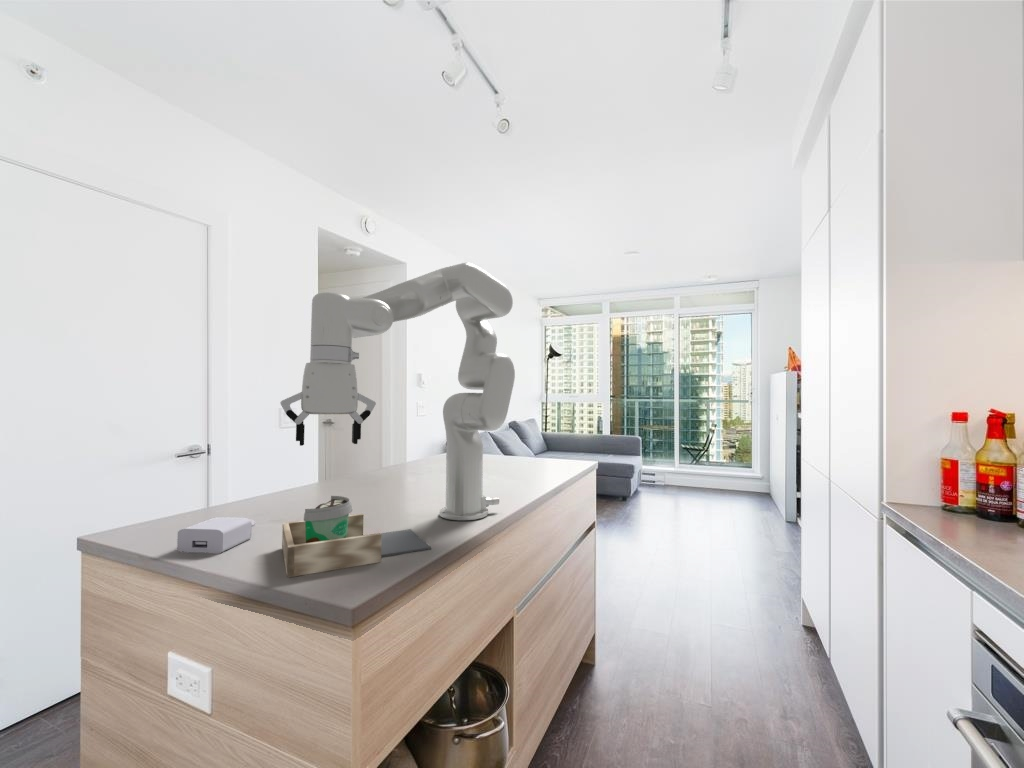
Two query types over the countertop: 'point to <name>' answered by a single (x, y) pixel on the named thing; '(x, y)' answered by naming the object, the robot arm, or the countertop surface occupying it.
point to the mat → (401, 542)
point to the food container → (328, 520)
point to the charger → (215, 535)
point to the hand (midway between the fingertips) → (328, 444)
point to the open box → (328, 549)
